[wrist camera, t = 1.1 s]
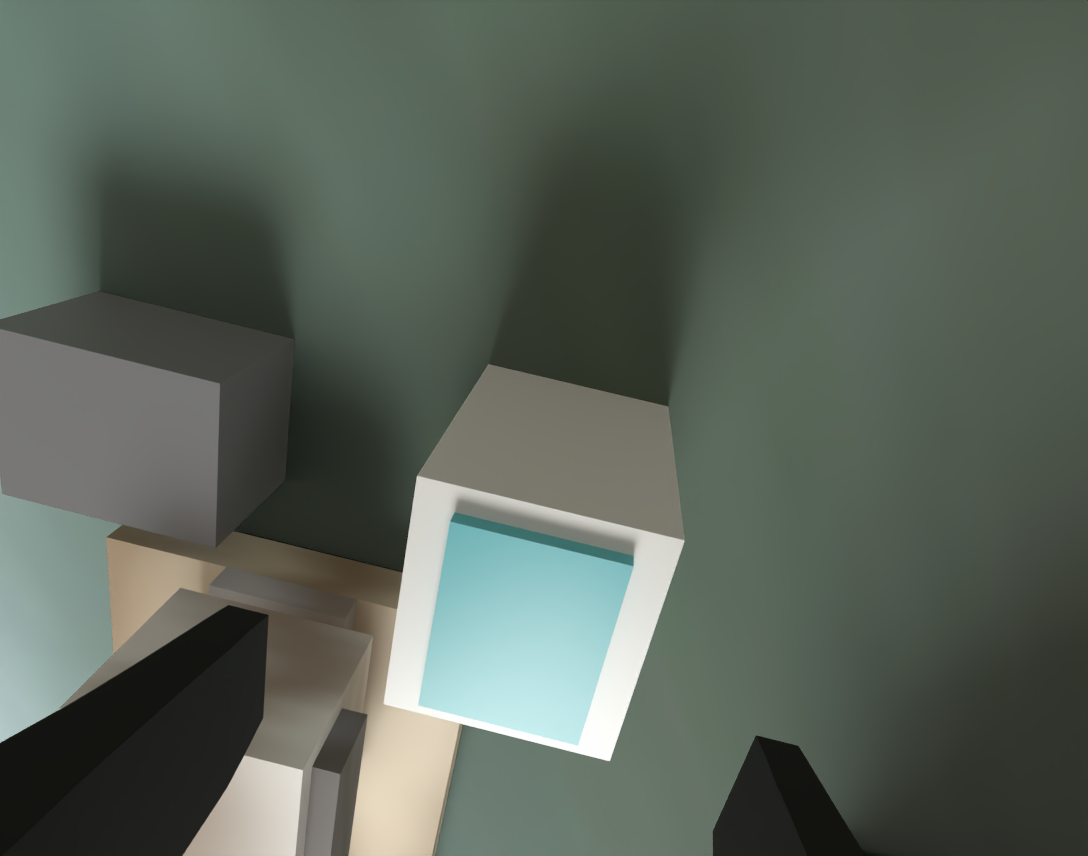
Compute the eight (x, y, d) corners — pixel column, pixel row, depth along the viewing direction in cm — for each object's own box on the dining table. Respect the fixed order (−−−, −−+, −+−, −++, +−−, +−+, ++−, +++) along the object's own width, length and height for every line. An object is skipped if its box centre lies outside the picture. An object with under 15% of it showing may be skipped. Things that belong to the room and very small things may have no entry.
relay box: (297, 337, 17) (219, 383, 14) (287, 478, 19) (215, 548, 16) (104, 290, 17) (-18, 324, 14) (109, 433, 19) (2, 493, 16)
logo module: (668, 406, 17) (686, 550, 11) (617, 576, 19) (609, 774, 13) (488, 363, 17) (411, 484, 11) (457, 537, 19) (378, 715, 13)
